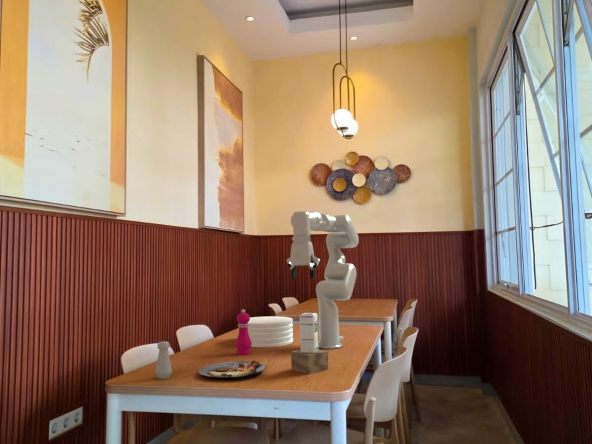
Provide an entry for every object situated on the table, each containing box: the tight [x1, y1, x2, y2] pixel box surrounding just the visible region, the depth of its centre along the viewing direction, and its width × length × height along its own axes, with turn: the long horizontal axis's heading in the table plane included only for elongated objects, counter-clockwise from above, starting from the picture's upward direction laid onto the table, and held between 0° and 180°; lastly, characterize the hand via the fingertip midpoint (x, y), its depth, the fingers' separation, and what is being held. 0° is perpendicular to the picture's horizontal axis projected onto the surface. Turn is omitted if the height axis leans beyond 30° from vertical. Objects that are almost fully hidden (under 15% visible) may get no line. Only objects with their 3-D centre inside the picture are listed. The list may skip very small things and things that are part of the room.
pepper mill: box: [235, 309, 252, 356], centre depth 211 cm, size 7×7×20 cm
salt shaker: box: [155, 341, 173, 380], centre depth 171 cm, size 6×6×13 cm
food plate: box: [198, 360, 268, 379], centre depth 175 cm, size 25×23×4 cm
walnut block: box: [290, 349, 329, 375], centre depth 178 cm, size 10×10×7 cm
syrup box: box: [299, 312, 320, 353], centre depth 178 cm, size 6×6×14 cm
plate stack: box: [248, 315, 294, 348], centre depth 240 cm, size 28×28×12 cm
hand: (303, 278), depth 202 cm, fingers open, 9 cm apart
